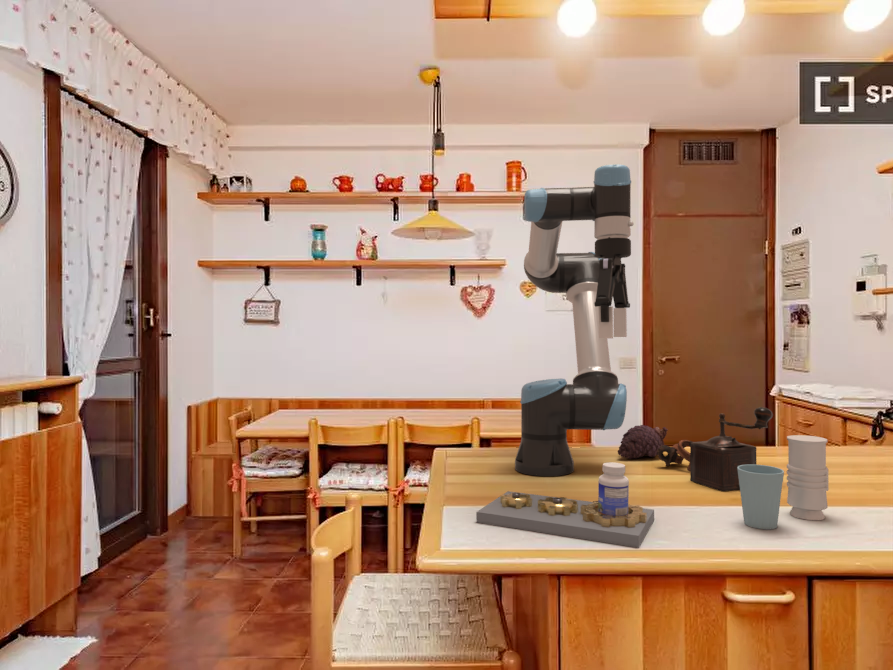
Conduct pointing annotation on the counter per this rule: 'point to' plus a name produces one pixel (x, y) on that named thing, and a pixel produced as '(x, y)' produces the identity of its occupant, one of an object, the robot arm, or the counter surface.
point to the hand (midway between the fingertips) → (613, 337)
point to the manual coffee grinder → (724, 455)
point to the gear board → (562, 522)
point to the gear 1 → (557, 506)
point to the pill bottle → (613, 490)
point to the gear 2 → (628, 520)
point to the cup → (760, 494)
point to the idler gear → (516, 500)
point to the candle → (807, 476)
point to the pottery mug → (675, 453)
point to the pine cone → (642, 442)
